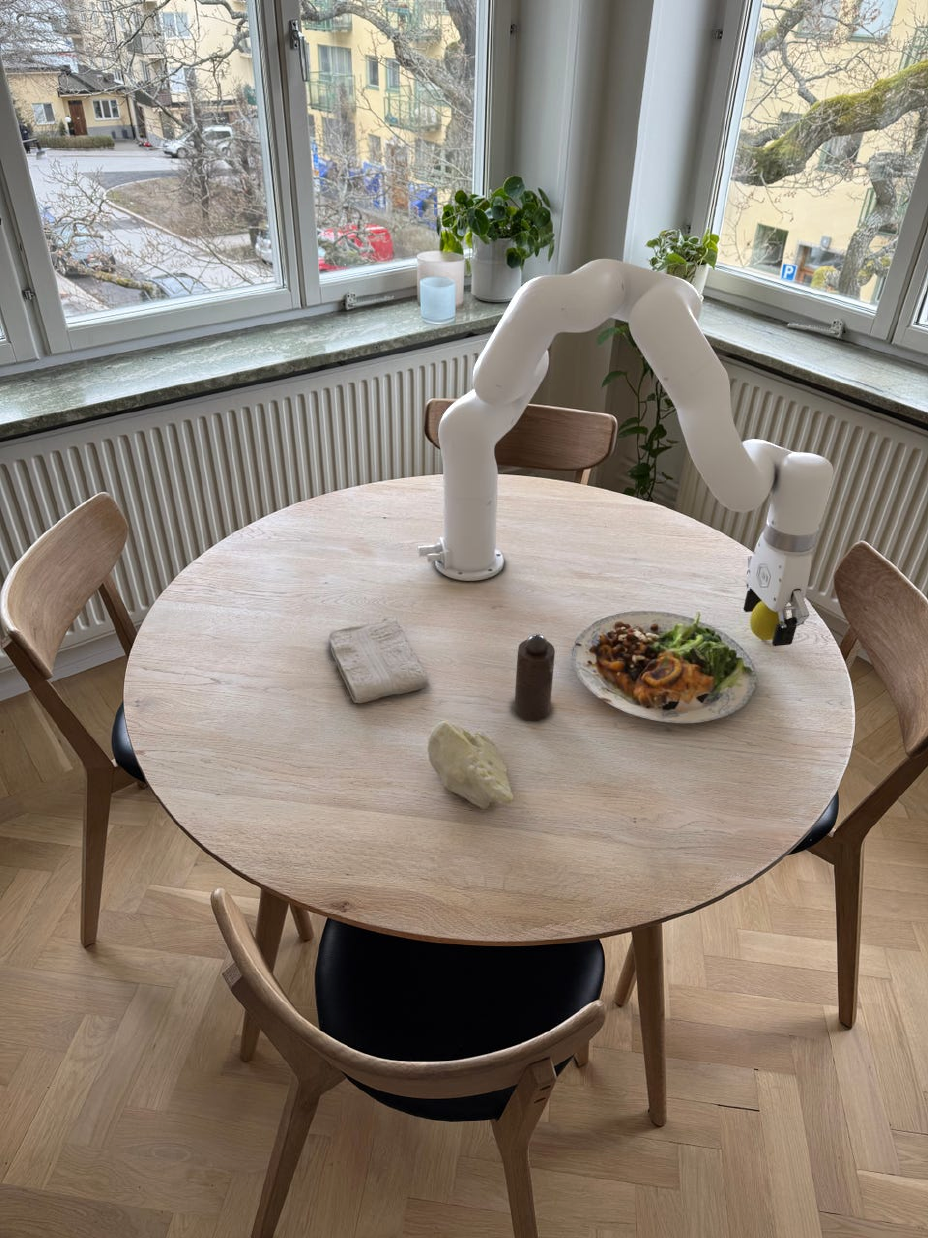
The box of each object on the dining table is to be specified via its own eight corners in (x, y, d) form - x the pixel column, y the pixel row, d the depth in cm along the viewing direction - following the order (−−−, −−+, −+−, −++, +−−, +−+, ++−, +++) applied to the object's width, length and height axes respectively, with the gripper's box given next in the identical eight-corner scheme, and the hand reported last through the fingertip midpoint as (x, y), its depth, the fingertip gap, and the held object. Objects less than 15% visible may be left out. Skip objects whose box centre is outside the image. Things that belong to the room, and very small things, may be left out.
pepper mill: (519, 723, 130) (524, 649, 122) (510, 700, 134) (514, 628, 127) (554, 718, 131) (560, 645, 123) (544, 695, 135) (549, 623, 128)
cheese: (433, 754, 127) (389, 756, 113) (465, 714, 126) (424, 711, 112) (512, 829, 122) (475, 841, 108) (546, 789, 121) (514, 795, 107)
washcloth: (394, 626, 149) (393, 611, 148) (431, 690, 136) (431, 674, 134) (324, 642, 146) (322, 626, 144) (355, 709, 132) (354, 693, 130)
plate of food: (760, 642, 147) (768, 611, 143) (746, 753, 125) (755, 720, 122) (592, 609, 154) (595, 579, 151) (551, 708, 133) (554, 676, 129)
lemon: (777, 631, 150) (787, 590, 145) (783, 651, 145) (794, 610, 140) (743, 629, 150) (752, 588, 145) (748, 648, 145) (758, 607, 141)
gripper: (740, 510, 142) (721, 600, 152) (796, 566, 129) (771, 661, 138) (783, 506, 144) (762, 595, 154) (843, 561, 130) (815, 655, 140)
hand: (766, 627), depth 146 cm, fingers open, 9 cm apart
